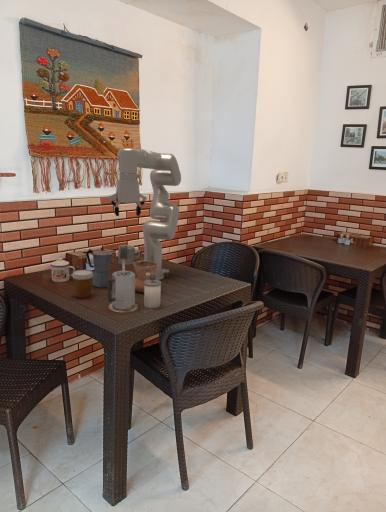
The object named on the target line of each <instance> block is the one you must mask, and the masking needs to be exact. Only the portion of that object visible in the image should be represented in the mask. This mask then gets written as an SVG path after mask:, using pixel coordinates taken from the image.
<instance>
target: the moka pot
mask: <svg viewBox="0 0 386 512" xmlns="http://www.w3.org/2000/svg"><path fill="white" fill-rule="evenodd" d="M104 249H105V247H104V246H103V247H100V249H99V250H94V249H88V250H87V251H86V254H85V255H86V258H87V262H88V266H89V268H93V269H94V272H93V277H92V287H95V288H107V280H110V264H111V261H112V260H113V257H115V255H114V254H113V252H112V251H111V250H104ZM90 254H91V255H92V260H93V265H92V263H91V258H90Z"/></svg>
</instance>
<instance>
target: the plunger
mask: <svg viewBox="0 0 386 512" xmlns="http://www.w3.org/2000/svg"><path fill="white" fill-rule="evenodd" d="M119 246H120V258H121V259H123V265H122V271H123V274H122V275H125V271H126V265H125V259H127V246H122V245H119Z"/></svg>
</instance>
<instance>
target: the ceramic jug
mask: <svg viewBox="0 0 386 512" xmlns="http://www.w3.org/2000/svg"><path fill="white" fill-rule="evenodd" d="M133 269H134V273H135V293H141V294H144V281H145V280H150V273H156V272H157V269H158V263H156V262H153V261H146V260H144V259H142V260H137V261H134V264H133Z"/></svg>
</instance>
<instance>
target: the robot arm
mask: <svg viewBox="0 0 386 512" xmlns="http://www.w3.org/2000/svg"><path fill="white" fill-rule="evenodd" d="M117 161H118V163H119V179H117V182H116V188H115V193H114V194H113V193H112V194H111V195H109V196H108V199H109V202H110V203H111V205H112V206H113V207H114V215H115V216H116V217H119V216H120V207H119V206H120V204H136V207H135V208H136V211H135V213H136V216H138V217H140V216H141V214H142V211H141V210H142V207H143V205H144V204H145V203H146V201H147V199H148V198H147V196H145V195H143V194H141V193H140V184H139V181H138V179H140V177H141V176H140V174H138V168H141V169H149V170H151V171H150V172H149V173H150V174H149V181H150V183H151V187H152V190H153V191H152V192H153V193H152V194H153V195H152V199H151V203H150V207H149V208H150V209H149V217H150V218H151V219H152V220H147V221H145V222H144V223H143V225H142V234H143V244H144V245H143V246H144V249H143V255H144V256H143V260H146V261H153V262H156V263H158V269H157V272H156V280H159V281H161V280H163V279H164V278H165V275H164V274H169V273H170V270H169V269H168V268H167V269H166V268H162V257H163V246H162V242H161V241H160V240H163V241H164V240H165V241H171V240H173V239H174V238H175V236H176V231H177V227H178V222H179V217H180V208H179V205H178V204H176V203H172V202H169V198H170V195H169V192H168V191H167V189H166V187H165V186H168V187H169V186H171V187H177V186H180V183H181V181H182V175H181V171H180V167H179V163H178V160H177V158H176V157H175V155H174V154H172V153H167V152H166V153H164V152H163V153H161V152H155V151H151V150H145V149H143V148H129V147H128V148H126V147H123V148H120V149H119V150H118V152H117ZM114 198H115V201H114ZM140 198H141V199H142V200H141V199H140ZM140 200H141V201H140Z"/></svg>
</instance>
